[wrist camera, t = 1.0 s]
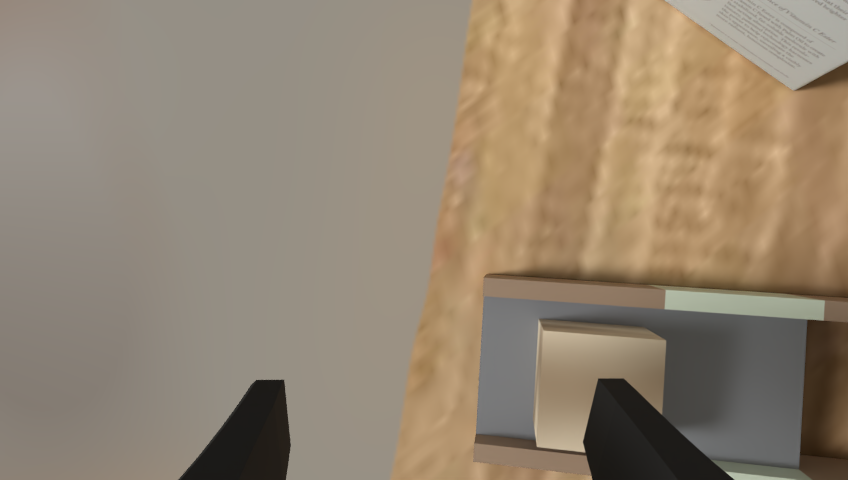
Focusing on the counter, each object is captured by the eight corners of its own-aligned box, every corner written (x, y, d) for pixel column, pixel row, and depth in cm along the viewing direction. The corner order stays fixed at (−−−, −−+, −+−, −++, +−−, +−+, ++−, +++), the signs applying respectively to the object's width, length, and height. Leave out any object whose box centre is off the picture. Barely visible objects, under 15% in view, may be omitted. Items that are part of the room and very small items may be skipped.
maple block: (637, 429, 24) (659, 460, 21) (532, 418, 25) (536, 447, 21) (643, 327, 24) (666, 340, 21) (538, 318, 25) (543, 330, 21)
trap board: (923, 486, 24) (986, 522, 21) (477, 436, 27) (473, 461, 24) (933, 303, 24) (998, 311, 21) (486, 273, 27) (484, 277, 24)
